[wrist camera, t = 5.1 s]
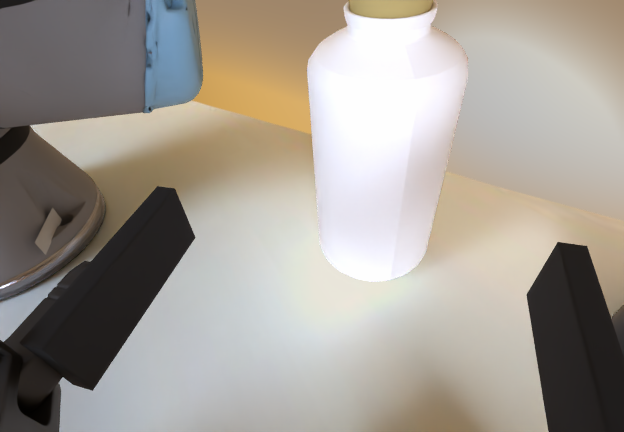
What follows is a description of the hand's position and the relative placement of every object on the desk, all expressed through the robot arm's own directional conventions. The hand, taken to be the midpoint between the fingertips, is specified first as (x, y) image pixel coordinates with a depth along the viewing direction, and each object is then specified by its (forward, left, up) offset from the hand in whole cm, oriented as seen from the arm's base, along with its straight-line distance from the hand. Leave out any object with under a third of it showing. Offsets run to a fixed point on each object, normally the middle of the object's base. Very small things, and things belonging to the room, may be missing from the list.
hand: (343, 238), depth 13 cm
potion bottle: (-7, +8, -13) cm, 17 cm away
